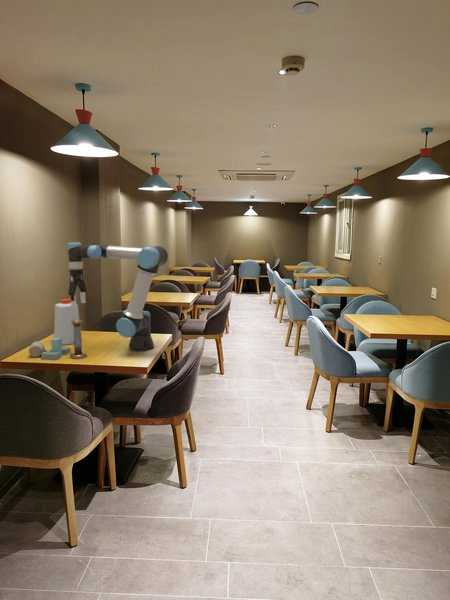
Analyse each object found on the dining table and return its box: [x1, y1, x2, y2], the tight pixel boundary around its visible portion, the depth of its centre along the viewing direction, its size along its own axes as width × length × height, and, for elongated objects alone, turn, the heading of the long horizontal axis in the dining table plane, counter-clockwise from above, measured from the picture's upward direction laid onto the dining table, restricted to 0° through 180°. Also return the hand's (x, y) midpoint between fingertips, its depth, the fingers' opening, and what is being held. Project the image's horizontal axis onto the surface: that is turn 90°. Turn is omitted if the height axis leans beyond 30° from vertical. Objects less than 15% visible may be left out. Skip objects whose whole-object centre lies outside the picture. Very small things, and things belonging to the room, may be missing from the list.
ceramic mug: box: [28, 341, 48, 358], centre depth 264 cm, size 11×8×8 cm
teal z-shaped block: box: [40, 346, 72, 361], centre depth 264 cm, size 9×16×3 cm, turn 171°
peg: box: [50, 337, 63, 357], centre depth 263 cm, size 4×4×10 cm
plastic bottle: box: [53, 298, 83, 346], centre depth 294 cm, size 15×15×28 cm
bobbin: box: [69, 319, 88, 360], centre depth 260 cm, size 9×9×21 cm
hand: (78, 304), depth 273 cm, fingers open, 13 cm apart
